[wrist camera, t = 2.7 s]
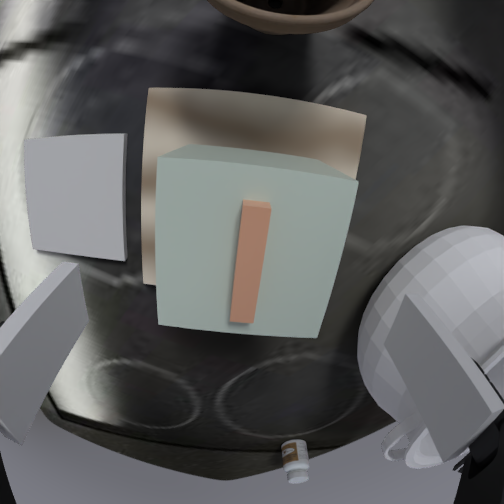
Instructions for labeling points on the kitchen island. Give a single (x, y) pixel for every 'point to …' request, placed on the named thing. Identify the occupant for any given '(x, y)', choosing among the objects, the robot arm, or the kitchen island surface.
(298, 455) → the pill bottle
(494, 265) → the pot
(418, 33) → the kitchen island surface
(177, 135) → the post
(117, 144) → the pad
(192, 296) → the cube with orange handle
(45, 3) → the kitchen island surface
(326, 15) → the flower pot
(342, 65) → the kitchen island surface
